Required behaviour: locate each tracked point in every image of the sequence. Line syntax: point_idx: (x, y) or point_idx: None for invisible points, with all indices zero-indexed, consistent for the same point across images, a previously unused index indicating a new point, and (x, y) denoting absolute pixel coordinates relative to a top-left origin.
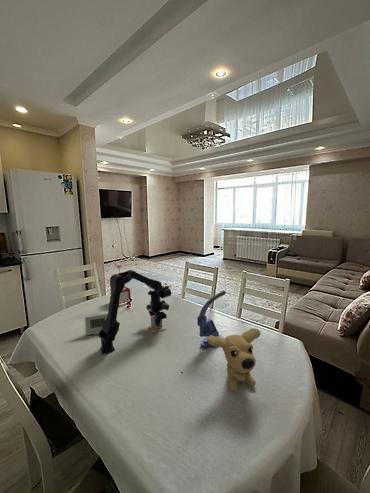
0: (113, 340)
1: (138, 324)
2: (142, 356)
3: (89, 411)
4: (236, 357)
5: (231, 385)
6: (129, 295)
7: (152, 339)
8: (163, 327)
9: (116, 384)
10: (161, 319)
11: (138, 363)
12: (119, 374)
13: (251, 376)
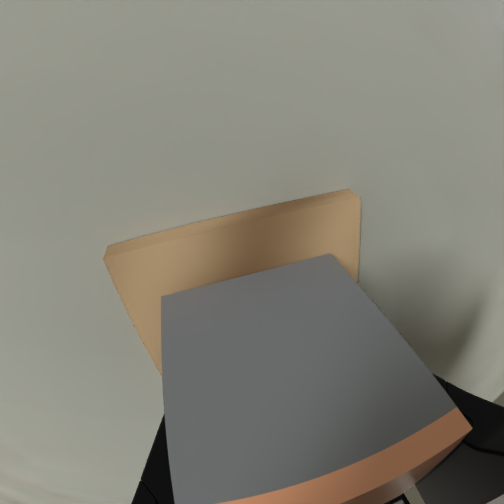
0: (403, 493)
1: (96, 443)
2: (485, 358)
3: (497, 397)
4: None
5: None
6: None
7: (426, 339)
8: (308, 217)
9: (496, 385)
10: (434, 388)
11: (496, 361)
12: (482, 393)
13: None
